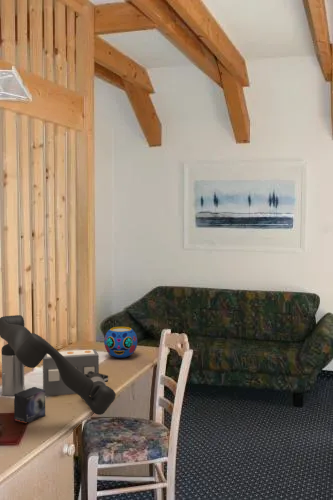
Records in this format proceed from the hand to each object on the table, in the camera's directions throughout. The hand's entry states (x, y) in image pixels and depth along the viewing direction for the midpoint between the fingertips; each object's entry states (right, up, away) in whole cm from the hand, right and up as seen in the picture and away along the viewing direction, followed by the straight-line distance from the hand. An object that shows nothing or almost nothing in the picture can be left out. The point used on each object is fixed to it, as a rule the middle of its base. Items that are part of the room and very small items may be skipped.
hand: (90, 373), depth 242 cm
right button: (-1, -2, +3) cm, 4 cm away
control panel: (-9, -8, +5) cm, 13 cm away
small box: (-19, -11, -28) cm, 35 cm away
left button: (-15, -2, -3) cm, 15 cm away
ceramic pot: (+8, -4, +59) cm, 60 cm away
